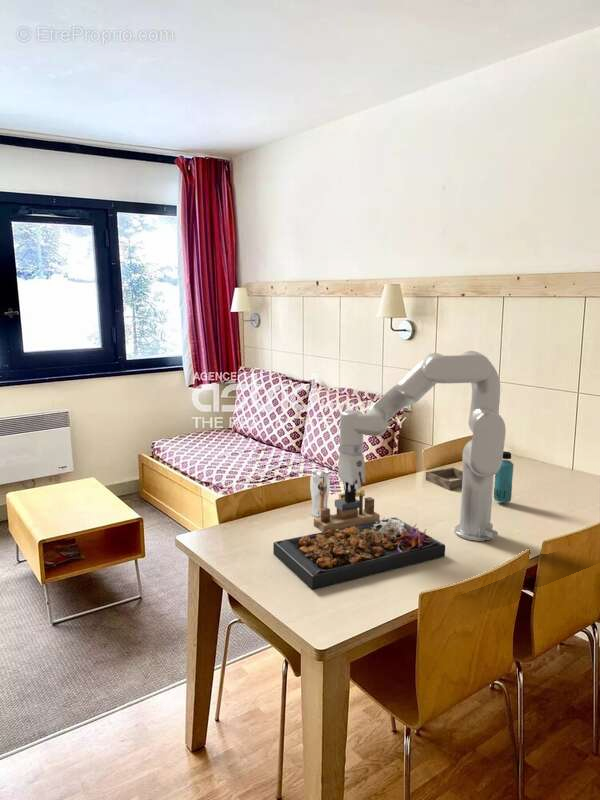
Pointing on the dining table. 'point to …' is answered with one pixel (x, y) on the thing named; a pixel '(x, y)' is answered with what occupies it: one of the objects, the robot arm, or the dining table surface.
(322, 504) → the beer glass
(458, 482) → the square wooden tray
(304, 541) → the food platter
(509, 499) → the beverage bottle
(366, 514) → the wooden post stand
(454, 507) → the dining table surface
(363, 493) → the lever
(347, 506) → the grey rectangular block
